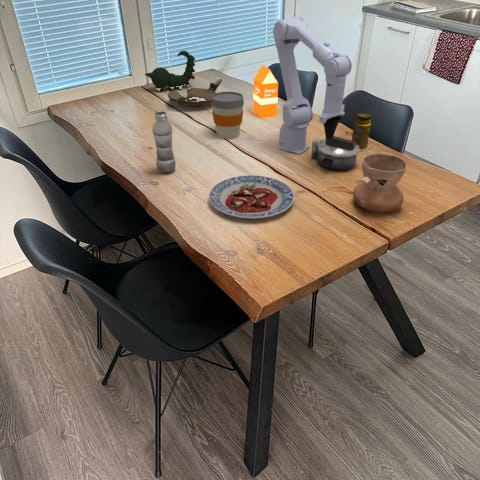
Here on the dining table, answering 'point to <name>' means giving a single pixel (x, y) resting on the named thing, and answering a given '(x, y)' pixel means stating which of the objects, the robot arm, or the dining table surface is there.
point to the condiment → (362, 130)
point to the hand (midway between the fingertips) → (329, 137)
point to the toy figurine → (165, 78)
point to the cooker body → (333, 161)
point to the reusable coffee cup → (227, 113)
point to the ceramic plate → (251, 196)
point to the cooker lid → (337, 147)
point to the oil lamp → (195, 95)
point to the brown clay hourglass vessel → (380, 182)
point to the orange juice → (265, 93)
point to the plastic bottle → (163, 143)
